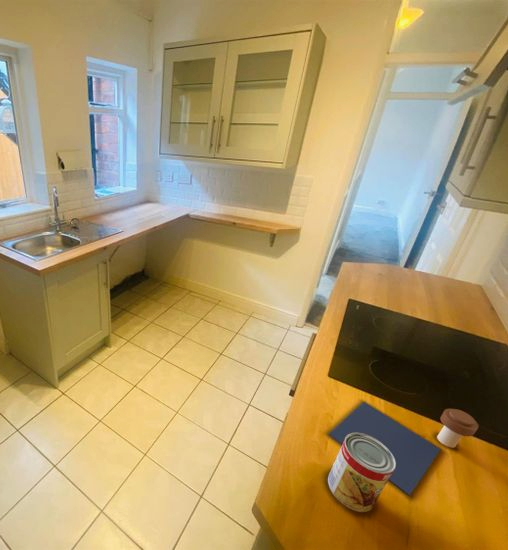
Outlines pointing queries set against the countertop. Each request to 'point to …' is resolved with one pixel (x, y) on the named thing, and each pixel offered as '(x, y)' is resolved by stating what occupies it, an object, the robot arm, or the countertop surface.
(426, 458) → the napkin
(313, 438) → the countertop surface
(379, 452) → the canned food
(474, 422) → the mushroom
